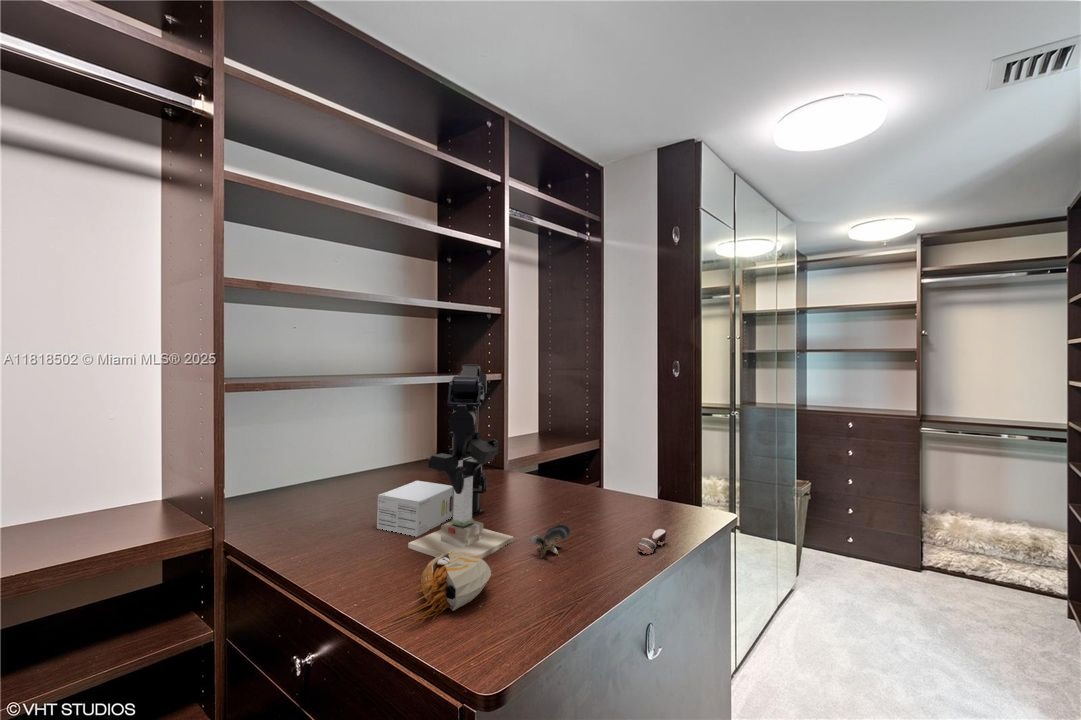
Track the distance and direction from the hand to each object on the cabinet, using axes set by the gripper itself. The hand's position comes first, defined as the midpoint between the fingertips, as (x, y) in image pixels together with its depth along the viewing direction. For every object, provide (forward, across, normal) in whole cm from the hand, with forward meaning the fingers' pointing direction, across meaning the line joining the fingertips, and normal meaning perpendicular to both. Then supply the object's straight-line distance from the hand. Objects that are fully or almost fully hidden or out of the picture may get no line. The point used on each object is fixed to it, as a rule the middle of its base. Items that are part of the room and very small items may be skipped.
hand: (463, 491), depth 120 cm
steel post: (+8, 0, 0) cm, 8 cm away
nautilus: (+13, -23, -15) cm, 30 cm away
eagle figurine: (+13, +9, -20) cm, 26 cm away
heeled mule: (+13, +26, -39) cm, 48 cm away
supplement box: (+13, +4, +20) cm, 24 cm away
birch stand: (+13, 0, 0) cm, 13 cm away
